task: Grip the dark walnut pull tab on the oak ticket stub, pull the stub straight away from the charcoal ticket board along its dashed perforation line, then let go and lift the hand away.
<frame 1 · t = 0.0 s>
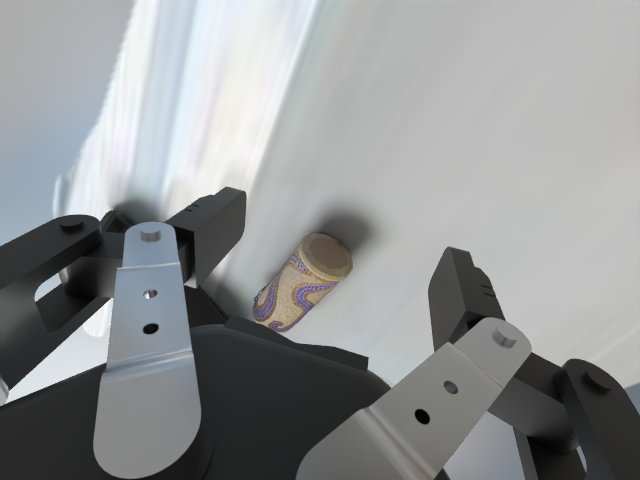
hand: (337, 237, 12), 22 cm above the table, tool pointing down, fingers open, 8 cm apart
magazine: (185, 276, 55), on the table
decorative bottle: (290, 279, 49), on the table
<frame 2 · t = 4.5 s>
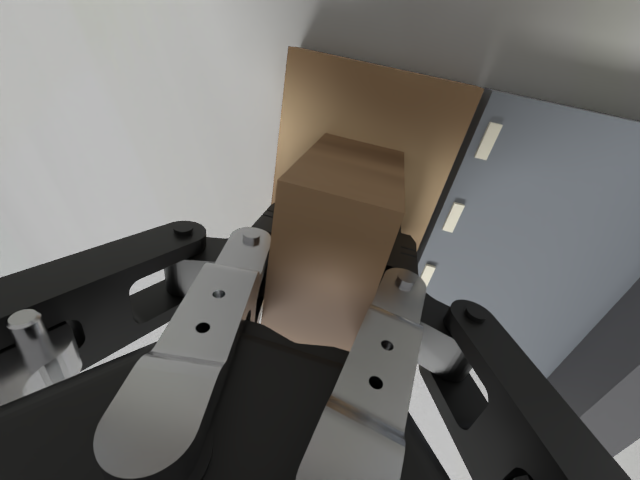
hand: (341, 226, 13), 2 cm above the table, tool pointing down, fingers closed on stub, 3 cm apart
stub: (335, 248, 12), point 3 cm above the table, slide at 0.0 cm, touching gripper
ticket board: (561, 267, 14), on the table
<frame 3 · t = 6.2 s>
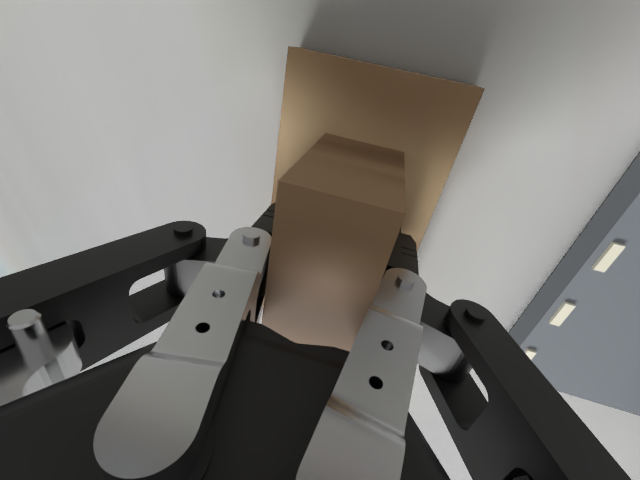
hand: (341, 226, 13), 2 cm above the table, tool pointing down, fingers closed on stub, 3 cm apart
stub: (335, 248, 12), point 3 cm above the table, slide at 5.8 cm, touching gripper
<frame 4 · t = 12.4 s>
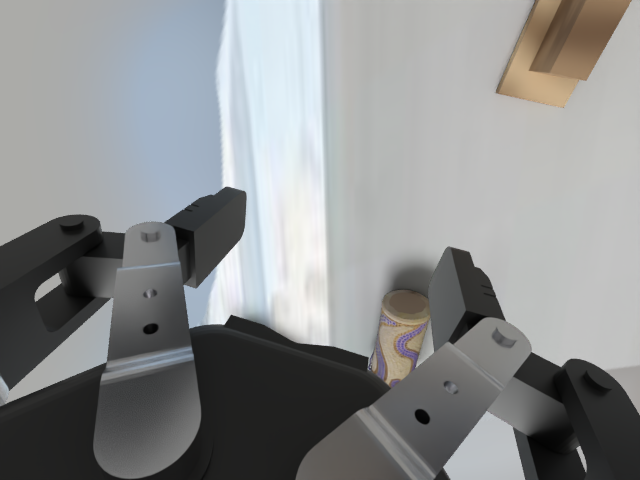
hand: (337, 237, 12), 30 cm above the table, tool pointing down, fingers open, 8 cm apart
stub: (574, 30, 28), point 3 cm above the table, slide at 8.9 cm
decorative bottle: (390, 339, 56), on the table
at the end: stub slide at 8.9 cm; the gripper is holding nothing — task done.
